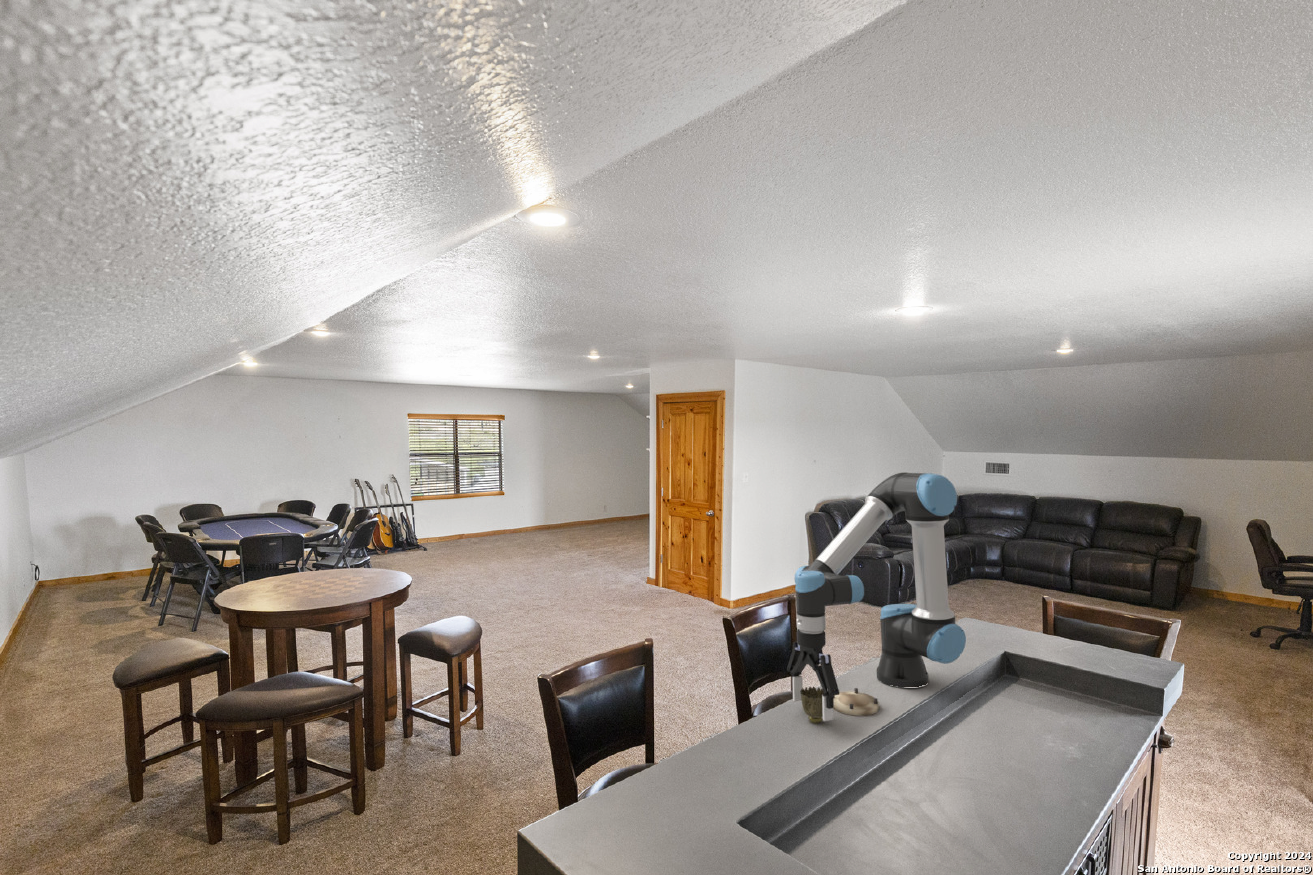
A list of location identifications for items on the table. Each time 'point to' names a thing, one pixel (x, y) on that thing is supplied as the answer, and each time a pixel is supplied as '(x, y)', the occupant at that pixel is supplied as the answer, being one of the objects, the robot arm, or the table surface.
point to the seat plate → (855, 703)
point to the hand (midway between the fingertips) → (812, 709)
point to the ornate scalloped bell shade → (812, 703)
